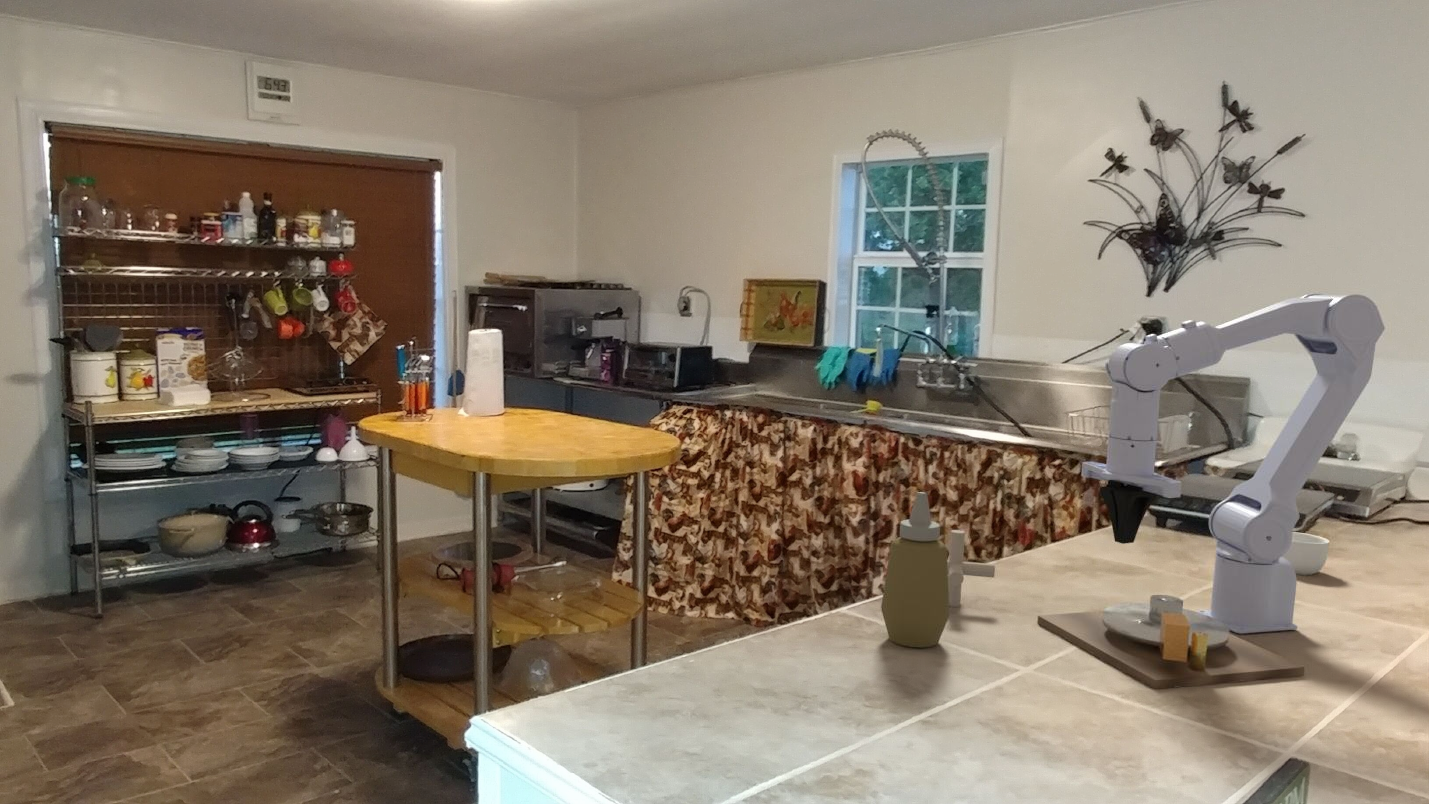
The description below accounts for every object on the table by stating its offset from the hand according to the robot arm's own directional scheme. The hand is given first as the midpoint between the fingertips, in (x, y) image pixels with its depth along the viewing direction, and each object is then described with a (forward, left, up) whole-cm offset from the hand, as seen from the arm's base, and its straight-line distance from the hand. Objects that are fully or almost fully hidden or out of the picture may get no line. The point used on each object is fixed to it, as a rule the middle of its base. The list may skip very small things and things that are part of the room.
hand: (1124, 542), depth 134 cm
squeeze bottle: (+31, +2, -11) cm, 32 cm away
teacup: (-44, -17, -11) cm, 49 cm away
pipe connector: (+19, -10, -11) cm, 23 cm away
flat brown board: (+2, +10, -10) cm, 15 cm away
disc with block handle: (+3, +12, -8) cm, 15 cm away
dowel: (+4, +19, -10) cm, 22 cm away
